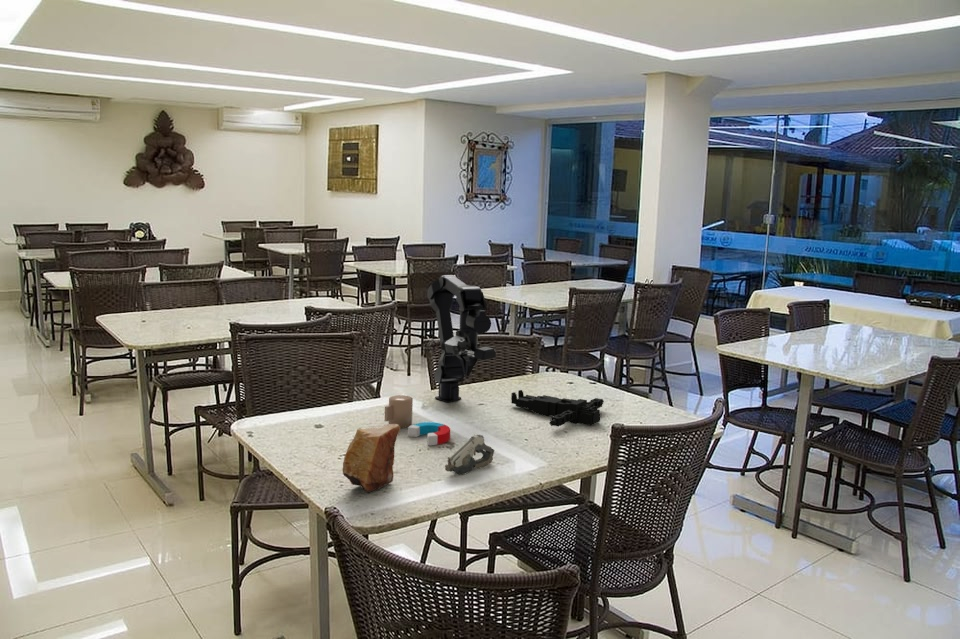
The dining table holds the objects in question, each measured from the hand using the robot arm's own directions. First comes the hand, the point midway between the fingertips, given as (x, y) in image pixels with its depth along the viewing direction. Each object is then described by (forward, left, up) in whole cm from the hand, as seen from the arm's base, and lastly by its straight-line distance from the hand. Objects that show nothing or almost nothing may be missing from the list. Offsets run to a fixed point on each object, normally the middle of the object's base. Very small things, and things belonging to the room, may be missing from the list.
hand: (467, 375), depth 229 cm
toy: (+20, +20, -13) cm, 31 cm away
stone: (+25, -58, -12) cm, 64 cm away
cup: (-5, -24, -12) cm, 27 cm away
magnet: (+10, -18, -11) cm, 23 cm away
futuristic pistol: (+33, -33, -12) cm, 48 cm away
